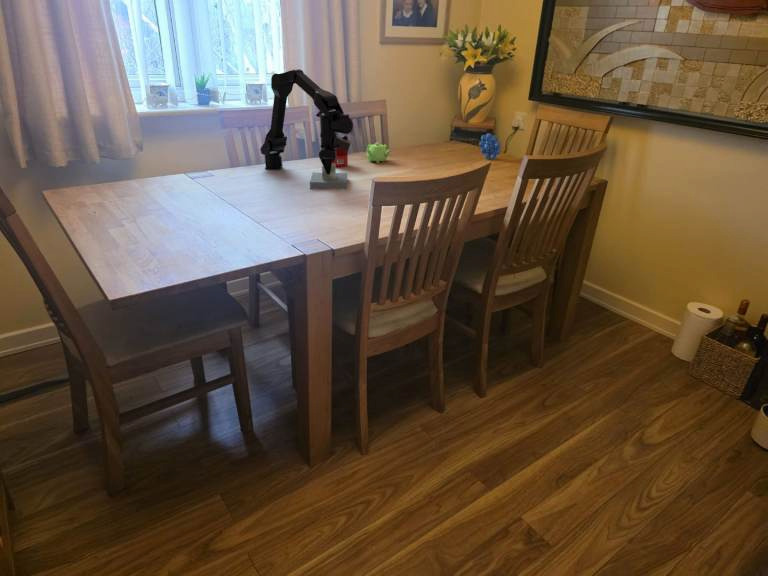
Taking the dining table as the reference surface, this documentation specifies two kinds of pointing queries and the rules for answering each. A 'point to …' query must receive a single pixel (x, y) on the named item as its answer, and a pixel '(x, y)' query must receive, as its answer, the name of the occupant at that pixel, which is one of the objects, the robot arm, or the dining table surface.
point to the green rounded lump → (377, 152)
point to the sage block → (332, 172)
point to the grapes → (489, 146)
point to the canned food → (341, 157)
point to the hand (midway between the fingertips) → (328, 171)
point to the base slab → (328, 181)
